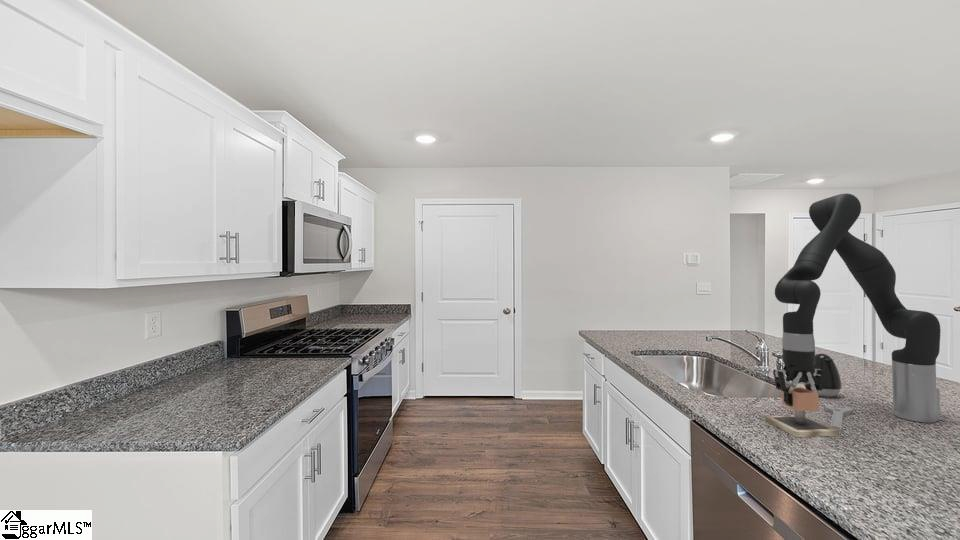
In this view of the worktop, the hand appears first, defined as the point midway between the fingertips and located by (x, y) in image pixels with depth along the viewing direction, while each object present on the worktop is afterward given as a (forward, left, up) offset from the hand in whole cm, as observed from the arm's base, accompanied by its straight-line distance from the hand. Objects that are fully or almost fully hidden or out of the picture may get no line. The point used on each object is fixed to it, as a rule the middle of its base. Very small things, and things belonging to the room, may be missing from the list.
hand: (799, 404), depth 117 cm
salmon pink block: (0, 0, -1) cm, 1 cm away
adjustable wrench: (-16, -6, -8) cm, 19 cm away
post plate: (0, 0, -7) cm, 7 cm away
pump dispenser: (-32, -28, -7) cm, 43 cm away
